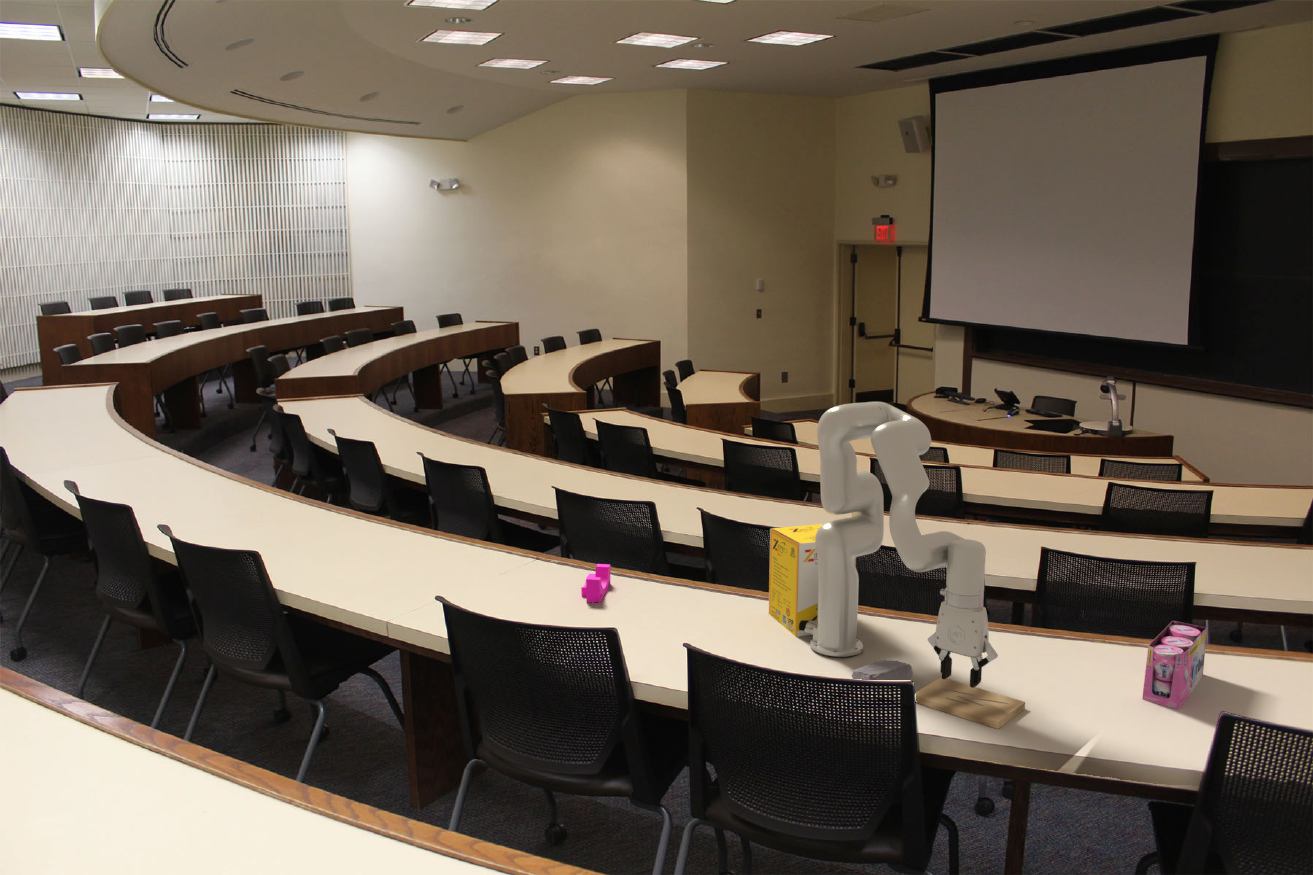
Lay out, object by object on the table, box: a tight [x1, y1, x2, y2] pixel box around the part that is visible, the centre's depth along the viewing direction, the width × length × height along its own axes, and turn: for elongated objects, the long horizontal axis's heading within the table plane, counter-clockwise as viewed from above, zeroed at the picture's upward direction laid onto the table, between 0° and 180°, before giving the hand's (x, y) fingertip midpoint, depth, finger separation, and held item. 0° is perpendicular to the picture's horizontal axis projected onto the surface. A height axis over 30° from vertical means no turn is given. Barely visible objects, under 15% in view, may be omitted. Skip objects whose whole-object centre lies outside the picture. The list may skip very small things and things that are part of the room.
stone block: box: [851, 659, 914, 681], centre depth 213 cm, size 12×5×10 cm
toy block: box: [581, 563, 611, 604], centre depth 274 cm, size 15×6×8 cm, turn 171°
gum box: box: [1142, 620, 1208, 710], centre depth 208 cm, size 22×7×13 cm, turn 139°
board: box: [915, 676, 1026, 730], centre depth 202 cm, size 19×13×2 cm
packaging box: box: [768, 523, 857, 638], centre depth 248 cm, size 16×16×25 cm
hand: (960, 680), depth 203 cm, fingers open, 5 cm apart
